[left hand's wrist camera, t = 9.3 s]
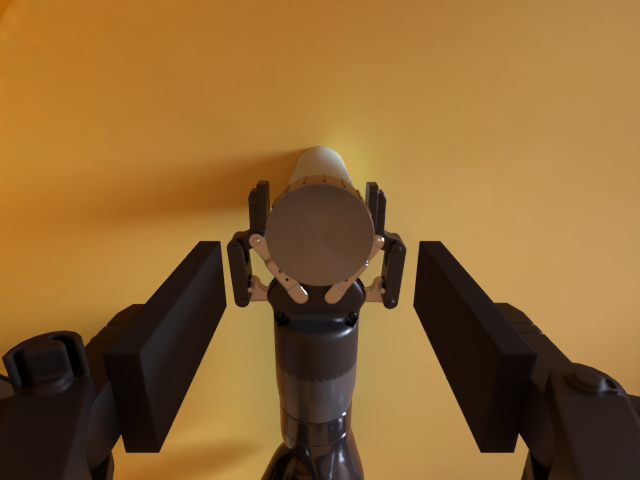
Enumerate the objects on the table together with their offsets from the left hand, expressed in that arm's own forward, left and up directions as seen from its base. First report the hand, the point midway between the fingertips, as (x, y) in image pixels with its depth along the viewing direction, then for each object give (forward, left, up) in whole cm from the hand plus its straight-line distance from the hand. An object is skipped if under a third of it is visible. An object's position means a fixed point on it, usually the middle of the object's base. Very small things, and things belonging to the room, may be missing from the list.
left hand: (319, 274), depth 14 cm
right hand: (0, 0, -16) cm, 16 cm away
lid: (0, 0, -5) cm, 5 cm away
